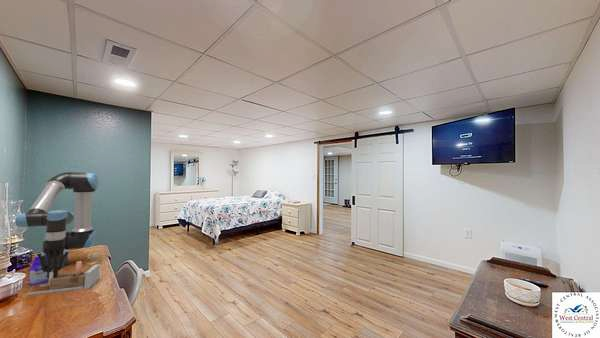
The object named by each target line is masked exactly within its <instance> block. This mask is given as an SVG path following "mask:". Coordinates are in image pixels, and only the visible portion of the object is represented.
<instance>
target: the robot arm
mask: <svg viewBox="0 0 600 338" xmlns="http://www.w3.org/2000/svg"><path fill="white" fill-rule="evenodd" d="M99 183H100V182H99V177H98V175H97V174H96V173H94V172H74V171H72V172H71V171H70V172H68V171H66V172H61V173H58V174H56V175H54V176H52V177H50V178H49V179H48V180H47V181H46V182H45V183H44V188H43V190H42V191H41V193H40V194H39V196H38V197H37V198H36V200H35V201H34V202H33V204H32V206H31V207H30V208H29V210H28V211H27V212H22V213H18V214H17V215H16V217H15V220H14V221H15V222H14V223H15V226H16V227H18V228H31V227H35V228H36V227H46V231H45V234H44V236H43V239H42V249H41V252H39V254H38V253H36V254H37V256H38V257H39V259H40V263H41V267H42V271H46V272H47V278H48V283H47V284H48V285H49V283H50V280H51V279H52V278H54V277H57V276H58V274H59V271H60V270H62V269H63V268H64V267H66V266H68V265H70V259H69V255H70V253H71V250H76V249H86V248H91V247H92V246H93V245H94V243H95V241H96V237H97V231H96V230H95V229H94V227H93V226H92V208H93V194H94V193H95V192H96V190H98V189H99V186H100V185H99ZM64 190H72V193H74V194H75V203H74V204H75V205H74V206H75V209H74V212H73V211H69V210H65V209H64V210H63V209H57V210H50V209H51V207H52V206H53V204H54V203H55V201H56V200H57V198H58V197H59V195H60V194H61V193H62V192H63V191H64ZM73 221H74V227H73V228H72V229H71V231H69V230H68V229H67V225H69V224H71V223H72V222H73ZM45 254H46V255H45ZM45 256H46V257H45ZM46 259H47V261H46ZM47 263H48V264H47Z"/></svg>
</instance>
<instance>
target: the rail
mask: <svg viewBox="0 0 600 338" xmlns="http://www.w3.org/2000/svg"><path fill="white" fill-rule="evenodd" d="M100 267H101V266H100V263H99V264H94V265H93V266H91V268H89V269H88V270H87V272H86V271H85V272H86V273H85V284H84V286H81V287H72V288H64V289H56V290H49V289H48V290H39V291H31V292H27V293H26V295H27V296H33V295H42V294H49V293H58V292H64V291H66V292H67V291H75V290H81V289H83V290H89V289H90V288H91V287H92V286H93V285H95V284H96V282H97V281H99V280H100V278H99V277H100ZM48 284H49V283H45V284H44V283H43V284H38V286H39V287H38V288H43V287H45V288H46V287H49V285H48Z"/></svg>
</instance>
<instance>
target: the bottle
mask: <svg viewBox="0 0 600 338" xmlns="http://www.w3.org/2000/svg"><path fill="white" fill-rule="evenodd" d="M39 253H40V252H39ZM39 253H38V252H37V253H35V254H34V259H33V260H32V262H31V264H32V265H31V266H30V267H29V274H28V275H29V276H28V285H29V286H36V285H41V284H42V283H43V284H44V283H45V282H49V278H47V272H46V271H42V267H41V263H40V259H39V257H38V256H37V254H39ZM45 255H46V254H45ZM45 257H46V256H45ZM46 261H47V259H46ZM47 264H48V263H47Z"/></svg>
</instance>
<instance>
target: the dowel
mask: <svg viewBox="0 0 600 338" xmlns="http://www.w3.org/2000/svg"><path fill="white" fill-rule="evenodd" d="M82 266H83V261H82V260H78V261H76V263H75V272H74V273H75V276H80V275H81V272H82V268H83V267H82Z"/></svg>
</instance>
